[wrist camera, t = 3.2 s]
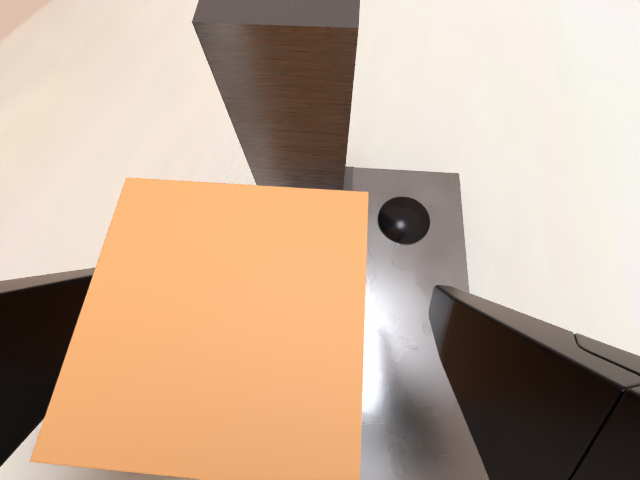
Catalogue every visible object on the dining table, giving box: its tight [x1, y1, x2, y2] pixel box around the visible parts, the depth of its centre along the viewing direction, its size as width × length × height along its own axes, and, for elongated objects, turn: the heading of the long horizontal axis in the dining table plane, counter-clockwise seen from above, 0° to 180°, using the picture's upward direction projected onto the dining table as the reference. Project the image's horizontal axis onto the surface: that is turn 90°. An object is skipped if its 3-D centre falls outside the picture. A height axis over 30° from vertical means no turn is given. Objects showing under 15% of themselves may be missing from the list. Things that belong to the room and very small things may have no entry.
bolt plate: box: [352, 167, 485, 480], centre depth 14 cm, size 22×6×1 cm, turn 175°
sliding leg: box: [30, 178, 369, 480], centre depth 9 cm, size 4×4×10 cm
